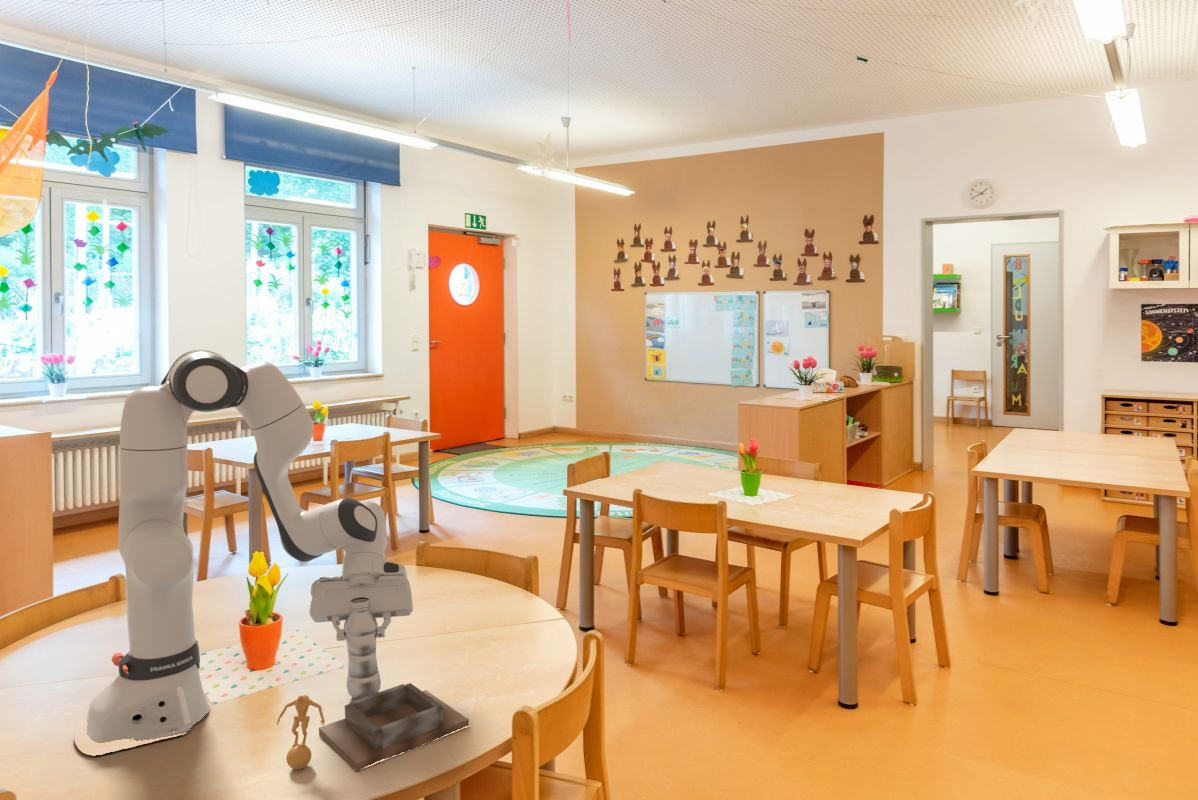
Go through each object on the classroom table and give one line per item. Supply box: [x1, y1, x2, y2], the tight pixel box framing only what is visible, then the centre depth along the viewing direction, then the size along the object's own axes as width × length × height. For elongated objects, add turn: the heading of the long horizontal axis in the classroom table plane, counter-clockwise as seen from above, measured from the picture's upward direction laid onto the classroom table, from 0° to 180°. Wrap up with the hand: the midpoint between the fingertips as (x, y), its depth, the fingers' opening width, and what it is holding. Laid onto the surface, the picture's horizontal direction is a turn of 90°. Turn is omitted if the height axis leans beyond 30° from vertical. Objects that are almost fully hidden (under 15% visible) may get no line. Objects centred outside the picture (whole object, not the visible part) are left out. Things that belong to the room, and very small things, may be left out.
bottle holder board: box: [318, 682, 470, 772], centre depth 153 cm, size 22×16×5 cm
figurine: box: [276, 694, 325, 770], centre depth 142 cm, size 8×6×12 cm
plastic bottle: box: [343, 597, 382, 700], centre depth 166 cm, size 6×7×20 cm
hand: (360, 638), depth 165 cm, fingers closed on plastic bottle, 6 cm apart
